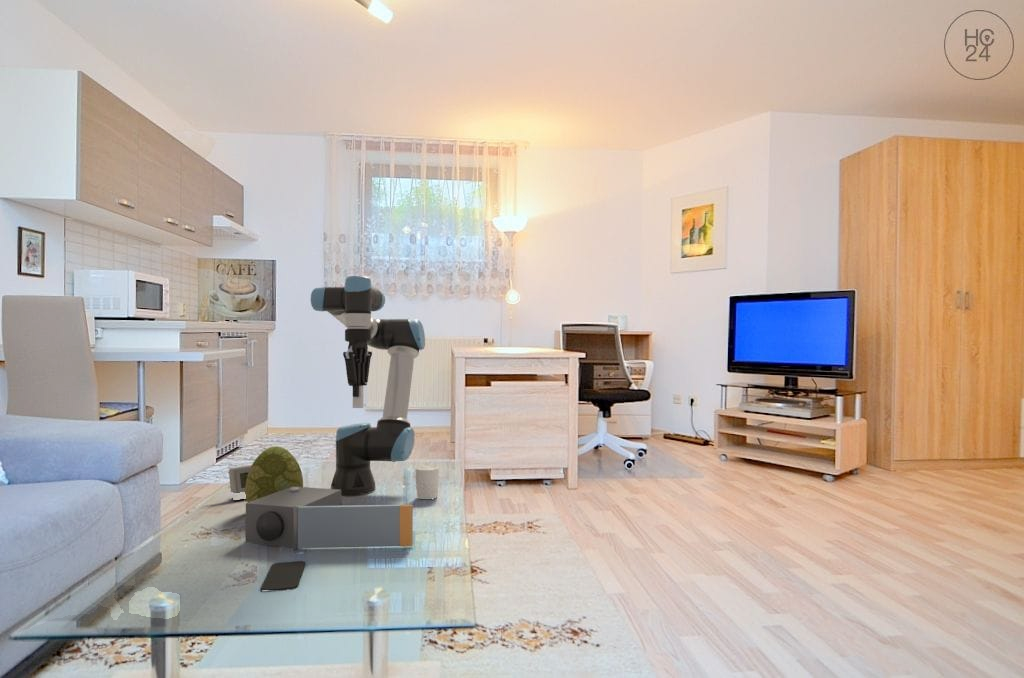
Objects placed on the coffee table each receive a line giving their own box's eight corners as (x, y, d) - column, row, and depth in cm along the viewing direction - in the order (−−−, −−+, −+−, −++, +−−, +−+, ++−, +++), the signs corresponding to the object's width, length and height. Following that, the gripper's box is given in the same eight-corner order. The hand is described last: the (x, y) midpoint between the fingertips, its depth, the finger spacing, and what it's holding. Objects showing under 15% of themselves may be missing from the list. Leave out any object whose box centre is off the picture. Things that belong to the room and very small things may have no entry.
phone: (259, 590, 117) (272, 563, 132) (259, 594, 117) (272, 566, 132) (297, 587, 119) (306, 560, 134) (297, 591, 119) (306, 564, 134)
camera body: (292, 521, 166) (292, 483, 166) (341, 525, 162) (341, 486, 162) (241, 544, 146) (241, 501, 146) (295, 550, 142) (295, 506, 142)
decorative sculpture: (269, 523, 164) (269, 453, 164) (233, 515, 172) (233, 448, 173) (314, 509, 178) (314, 444, 179) (279, 502, 186) (279, 440, 187)
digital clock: (230, 502, 186) (230, 470, 187) (227, 496, 194) (227, 465, 194) (283, 496, 195) (283, 464, 195) (278, 490, 203) (278, 460, 203)
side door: (412, 545, 144) (412, 503, 145) (411, 547, 143) (411, 505, 143) (294, 547, 143) (294, 505, 143) (292, 549, 142) (292, 507, 142)
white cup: (437, 500, 188) (437, 470, 188) (413, 500, 188) (413, 470, 188) (440, 494, 196) (440, 465, 196) (417, 494, 196) (417, 465, 196)
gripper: (358, 329, 178) (358, 405, 178) (334, 327, 166) (334, 409, 165) (380, 328, 176) (380, 405, 176) (358, 327, 164) (358, 410, 163)
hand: (358, 407), depth 171 cm, fingers closed
